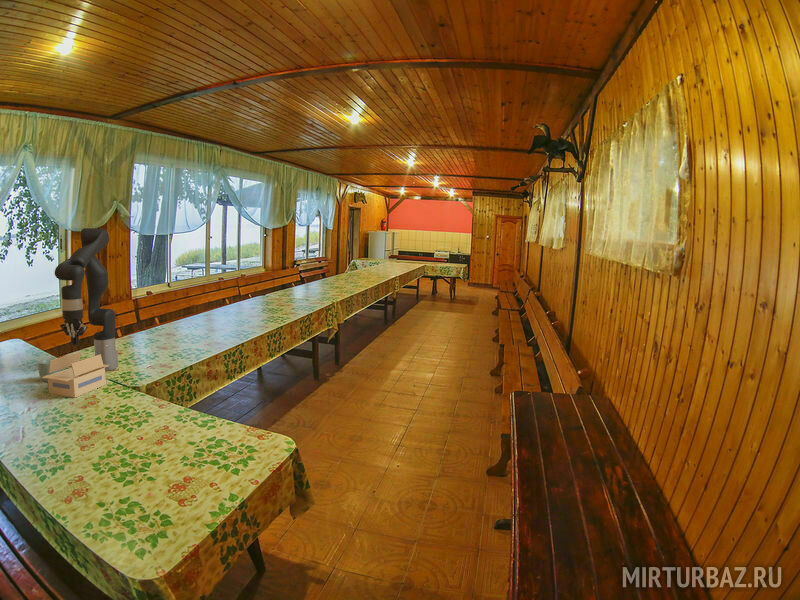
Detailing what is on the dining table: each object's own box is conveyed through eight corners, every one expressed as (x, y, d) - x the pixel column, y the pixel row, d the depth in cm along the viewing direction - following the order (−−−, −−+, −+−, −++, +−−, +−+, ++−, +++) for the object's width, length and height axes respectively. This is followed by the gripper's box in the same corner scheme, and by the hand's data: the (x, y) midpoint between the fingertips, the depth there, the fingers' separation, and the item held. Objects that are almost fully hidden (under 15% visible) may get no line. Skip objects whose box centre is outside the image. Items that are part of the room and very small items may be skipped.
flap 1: (79, 363, 202) (78, 362, 202) (80, 351, 201) (80, 351, 201) (49, 372, 188) (48, 372, 188) (50, 360, 187) (49, 360, 187)
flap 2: (74, 376, 186) (74, 376, 186) (70, 363, 185) (71, 363, 185) (103, 366, 200) (103, 366, 200) (100, 354, 199) (100, 354, 199)
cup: (48, 384, 200) (46, 364, 198) (35, 382, 201) (33, 362, 200) (64, 378, 207) (63, 359, 206) (51, 376, 209) (50, 357, 207)
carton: (87, 379, 208) (86, 361, 206) (111, 383, 205) (110, 365, 204) (42, 396, 186) (40, 377, 184) (68, 400, 184) (66, 380, 182)
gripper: (92, 308, 192) (94, 344, 195) (68, 305, 194) (70, 341, 197) (77, 311, 184) (79, 348, 187) (52, 308, 187) (55, 345, 190)
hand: (75, 344), depth 192 cm, fingers closed
